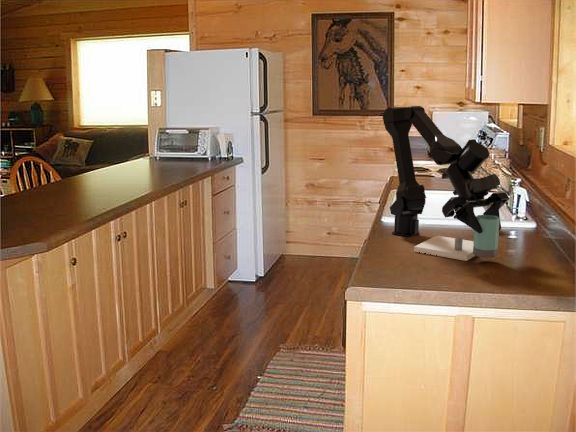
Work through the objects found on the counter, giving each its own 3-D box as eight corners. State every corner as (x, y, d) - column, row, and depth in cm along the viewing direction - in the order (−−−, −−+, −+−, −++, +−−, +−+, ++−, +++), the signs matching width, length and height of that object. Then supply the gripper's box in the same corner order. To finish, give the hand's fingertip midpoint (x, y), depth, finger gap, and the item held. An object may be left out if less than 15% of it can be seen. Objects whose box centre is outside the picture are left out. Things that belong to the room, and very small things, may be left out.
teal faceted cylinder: (470, 255, 160) (473, 217, 158) (478, 250, 165) (480, 213, 163) (491, 258, 157) (494, 220, 155) (499, 253, 162) (501, 216, 159)
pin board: (414, 251, 171) (414, 234, 170) (436, 240, 183) (437, 224, 182) (466, 260, 162) (467, 242, 161) (486, 248, 174) (487, 231, 173)
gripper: (451, 166, 155) (480, 217, 148) (506, 161, 163) (536, 210, 156) (430, 191, 164) (455, 241, 157) (483, 186, 172) (510, 233, 165)
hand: (490, 231), depth 158 cm, fingers closed on teal faceted cylinder, 6 cm apart
